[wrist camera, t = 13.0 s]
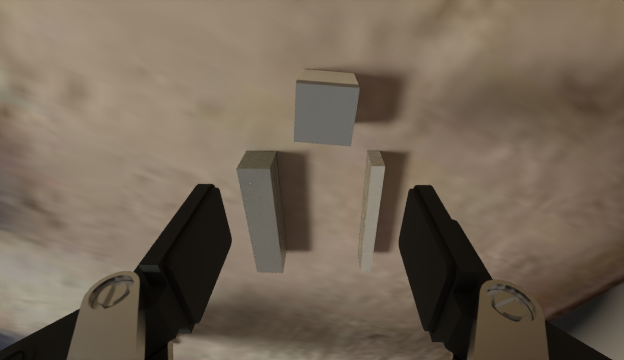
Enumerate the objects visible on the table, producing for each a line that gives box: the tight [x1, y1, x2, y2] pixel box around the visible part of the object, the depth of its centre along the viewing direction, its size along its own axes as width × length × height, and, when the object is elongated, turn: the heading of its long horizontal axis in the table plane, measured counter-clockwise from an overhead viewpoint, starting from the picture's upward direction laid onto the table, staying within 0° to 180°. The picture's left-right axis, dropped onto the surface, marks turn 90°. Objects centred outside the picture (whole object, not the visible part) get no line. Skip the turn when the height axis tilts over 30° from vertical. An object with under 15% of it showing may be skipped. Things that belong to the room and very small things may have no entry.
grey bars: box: [237, 151, 385, 273], centre depth 29 cm, size 14×13×4 cm
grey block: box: [294, 69, 360, 146], centre depth 22 cm, size 4×4×5 cm
